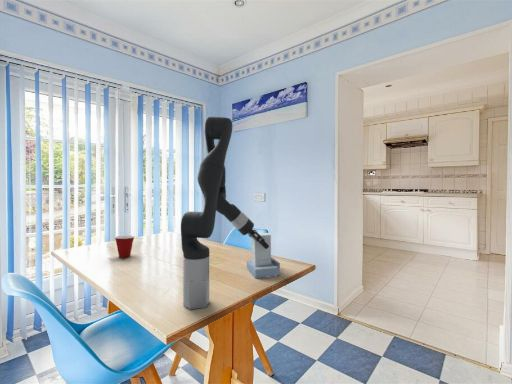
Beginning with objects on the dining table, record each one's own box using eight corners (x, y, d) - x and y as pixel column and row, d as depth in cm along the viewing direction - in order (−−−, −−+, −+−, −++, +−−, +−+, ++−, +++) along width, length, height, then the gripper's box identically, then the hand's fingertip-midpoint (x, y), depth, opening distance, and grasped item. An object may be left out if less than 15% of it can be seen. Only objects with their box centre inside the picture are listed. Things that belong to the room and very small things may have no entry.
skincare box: (267, 261, 133) (267, 232, 133) (271, 265, 128) (271, 234, 127) (251, 262, 131) (251, 233, 130) (254, 266, 125) (254, 235, 125)
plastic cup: (138, 254, 159) (138, 234, 158) (128, 259, 148) (128, 238, 148) (121, 253, 160) (121, 233, 160) (110, 258, 149) (109, 237, 149)
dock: (279, 275, 125) (279, 263, 125) (255, 278, 121) (255, 265, 121) (269, 266, 138) (269, 255, 138) (246, 268, 134) (246, 257, 134)
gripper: (251, 219, 119) (275, 243, 123) (243, 215, 133) (264, 236, 137) (240, 231, 118) (264, 255, 122) (233, 226, 131) (254, 247, 135)
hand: (264, 245), depth 129 cm, fingers open, 8 cm apart
